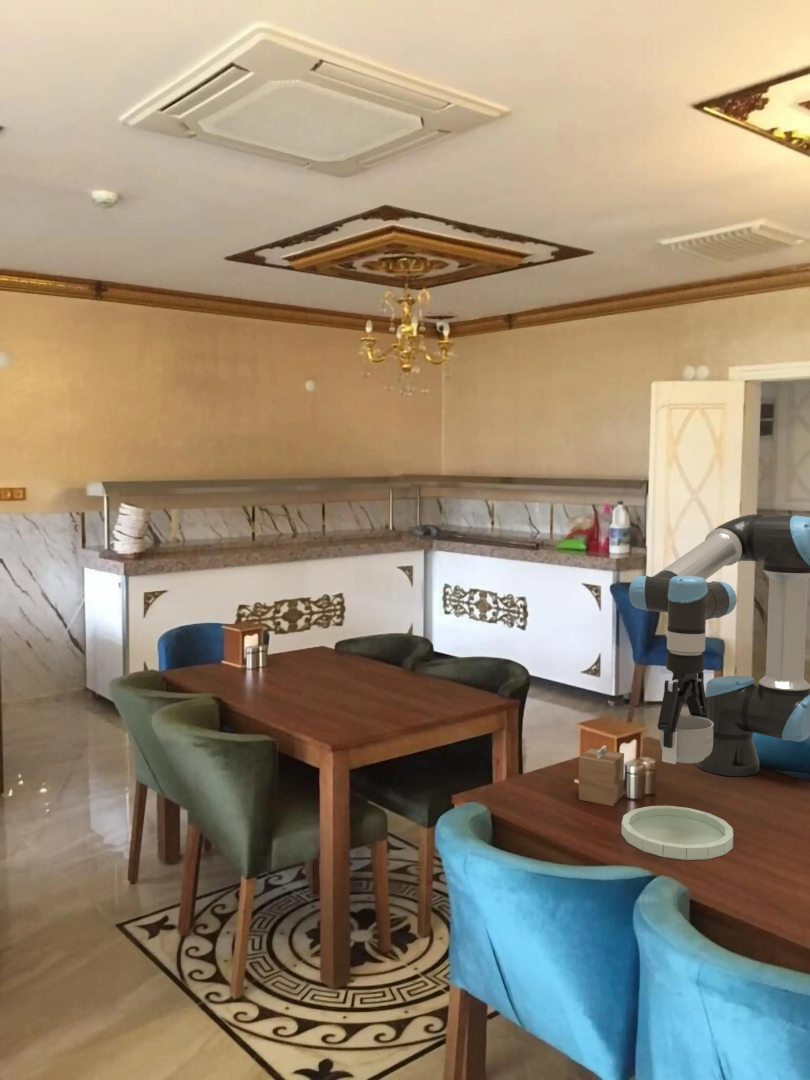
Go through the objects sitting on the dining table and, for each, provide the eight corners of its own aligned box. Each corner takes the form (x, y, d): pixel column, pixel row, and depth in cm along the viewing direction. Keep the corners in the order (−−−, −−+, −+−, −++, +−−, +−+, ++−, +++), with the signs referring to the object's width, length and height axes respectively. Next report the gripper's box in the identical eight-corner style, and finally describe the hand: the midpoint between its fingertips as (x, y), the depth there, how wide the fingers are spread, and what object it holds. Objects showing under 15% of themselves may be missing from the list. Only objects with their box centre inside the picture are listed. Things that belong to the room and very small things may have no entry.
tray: (651, 808, 207) (651, 798, 206) (749, 834, 192) (749, 823, 192) (602, 839, 190) (603, 827, 190) (706, 869, 176) (706, 857, 176)
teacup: (716, 769, 184) (717, 729, 183) (659, 765, 186) (660, 726, 185) (707, 748, 197) (708, 711, 197) (654, 745, 199) (655, 708, 199)
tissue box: (590, 788, 219) (591, 741, 218) (623, 795, 215) (624, 746, 214) (578, 799, 212) (579, 750, 211) (612, 806, 208) (613, 756, 207)
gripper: (692, 641, 200) (688, 739, 202) (641, 657, 182) (638, 765, 184) (726, 646, 196) (722, 746, 197) (677, 663, 178) (674, 773, 179)
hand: (682, 755), depth 191 cm, fingers closed on teacup, 11 cm apart
